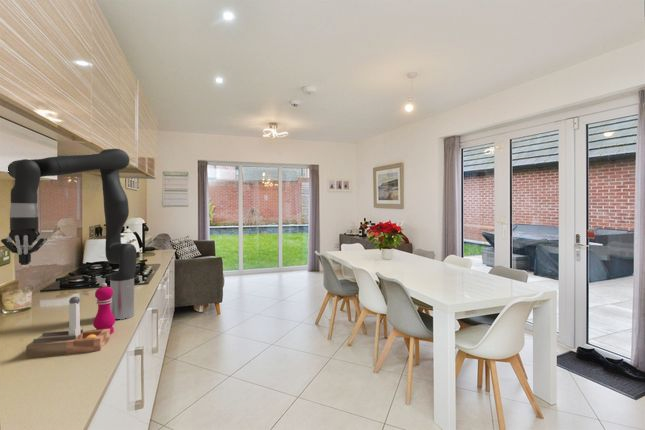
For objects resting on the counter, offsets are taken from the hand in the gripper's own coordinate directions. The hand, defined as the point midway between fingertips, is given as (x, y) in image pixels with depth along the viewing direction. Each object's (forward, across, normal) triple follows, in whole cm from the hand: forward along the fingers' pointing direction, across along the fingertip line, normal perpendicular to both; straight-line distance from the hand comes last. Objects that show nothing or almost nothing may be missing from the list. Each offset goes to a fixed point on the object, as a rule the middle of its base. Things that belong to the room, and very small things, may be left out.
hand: (24, 264), depth 115 cm
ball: (+27, -23, +7) cm, 36 cm away
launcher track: (+29, -16, +7) cm, 34 cm away
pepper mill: (+29, -23, -5) cm, 38 cm away
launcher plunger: (+25, -18, +7) cm, 31 cm away
